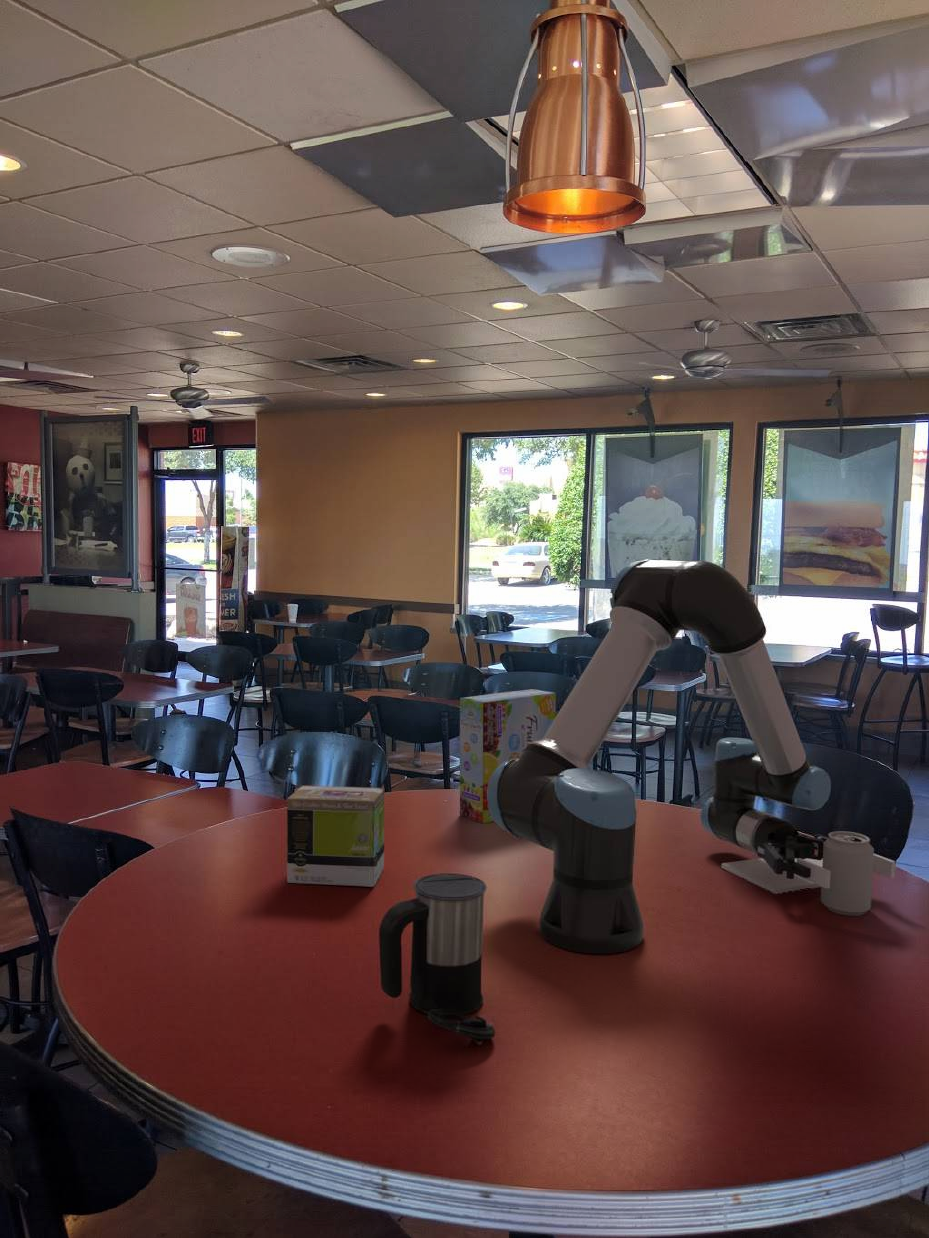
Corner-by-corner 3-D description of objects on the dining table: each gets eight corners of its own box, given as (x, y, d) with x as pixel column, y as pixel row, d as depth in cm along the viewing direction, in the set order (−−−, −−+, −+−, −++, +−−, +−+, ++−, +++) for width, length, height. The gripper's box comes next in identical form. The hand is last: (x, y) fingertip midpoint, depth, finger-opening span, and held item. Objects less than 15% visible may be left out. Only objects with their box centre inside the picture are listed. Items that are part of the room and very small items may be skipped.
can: (878, 918, 148) (882, 843, 148) (830, 916, 149) (834, 841, 148) (859, 900, 156) (863, 829, 155) (813, 899, 156) (817, 828, 155)
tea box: (384, 869, 166) (386, 786, 165) (373, 889, 156) (375, 801, 155) (301, 864, 168) (302, 782, 167) (284, 884, 158) (285, 796, 157)
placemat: (775, 893, 158) (775, 889, 158) (721, 867, 171) (721, 863, 171) (865, 880, 166) (865, 875, 166) (807, 856, 179) (807, 852, 179)
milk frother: (444, 977, 124) (446, 866, 123) (541, 1017, 114) (545, 897, 113) (365, 1015, 114) (367, 895, 113) (466, 1063, 103) (469, 931, 102)
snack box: (529, 799, 216) (532, 687, 214) (556, 808, 209) (560, 692, 207) (455, 815, 202) (458, 695, 200) (482, 824, 195) (485, 700, 193)
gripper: (821, 850, 174) (917, 888, 155) (710, 864, 164) (798, 907, 145) (823, 809, 173) (920, 843, 154) (712, 822, 164) (801, 859, 144)
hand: (861, 874), depth 149 cm, fingers open, 13 cm apart
